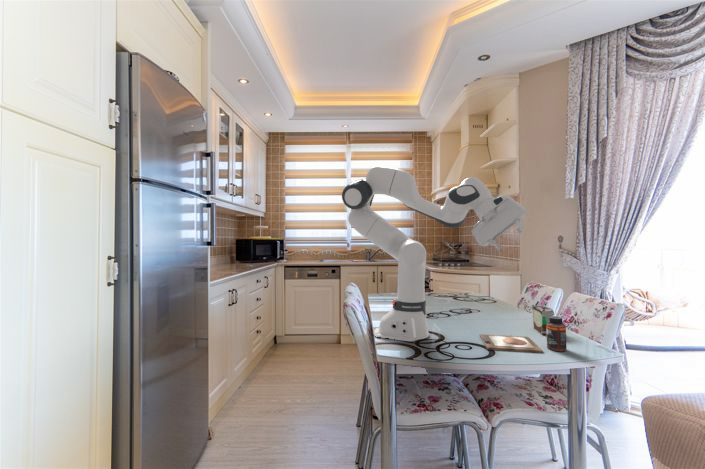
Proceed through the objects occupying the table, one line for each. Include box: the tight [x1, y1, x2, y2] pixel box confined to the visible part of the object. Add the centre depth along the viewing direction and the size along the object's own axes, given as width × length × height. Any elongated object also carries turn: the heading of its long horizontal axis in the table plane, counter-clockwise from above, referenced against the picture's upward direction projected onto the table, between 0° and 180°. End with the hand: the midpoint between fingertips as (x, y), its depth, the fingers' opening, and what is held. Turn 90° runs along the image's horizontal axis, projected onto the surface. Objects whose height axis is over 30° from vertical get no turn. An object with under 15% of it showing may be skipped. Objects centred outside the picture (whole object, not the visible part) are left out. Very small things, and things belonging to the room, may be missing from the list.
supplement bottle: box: [546, 315, 567, 353], centre depth 114 cm, size 6×6×11 cm
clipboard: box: [479, 333, 544, 354], centre depth 120 cm, size 18×16×2 cm
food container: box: [531, 305, 555, 336], centre depth 135 cm, size 12×6×10 cm, turn 168°
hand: (510, 241), depth 113 cm, fingers open, 8 cm apart
